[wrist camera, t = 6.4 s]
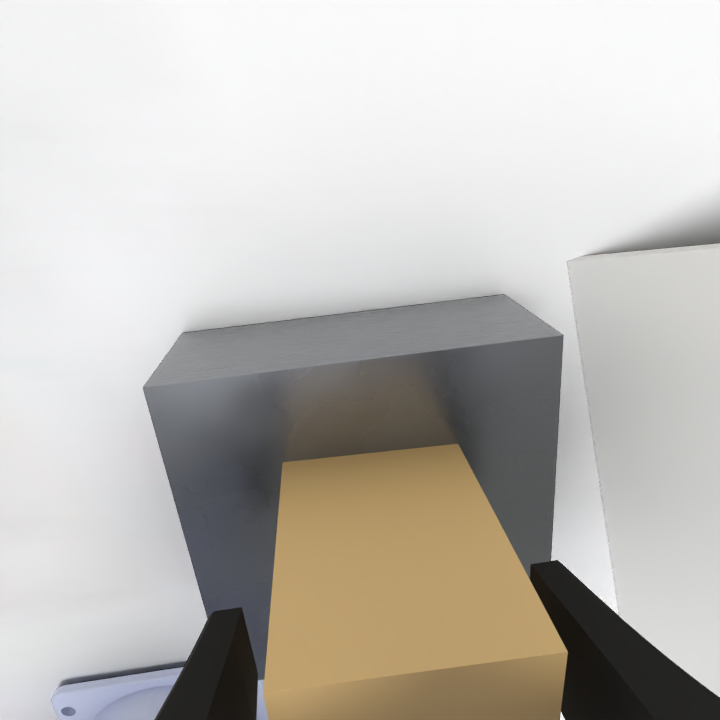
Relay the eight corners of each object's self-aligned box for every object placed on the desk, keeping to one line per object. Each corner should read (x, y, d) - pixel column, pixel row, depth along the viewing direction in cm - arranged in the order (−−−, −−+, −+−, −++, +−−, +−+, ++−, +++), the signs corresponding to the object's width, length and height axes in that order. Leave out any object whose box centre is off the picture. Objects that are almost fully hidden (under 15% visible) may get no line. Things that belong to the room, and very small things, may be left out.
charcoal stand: (501, 546, 20) (546, 635, 16) (242, 583, 19) (226, 685, 16) (504, 294, 16) (563, 335, 12) (182, 332, 16) (142, 387, 12)
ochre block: (456, 578, 15) (546, 829, 9) (301, 597, 15) (297, 869, 9) (458, 443, 13) (568, 651, 8) (282, 462, 13) (263, 693, 7)
